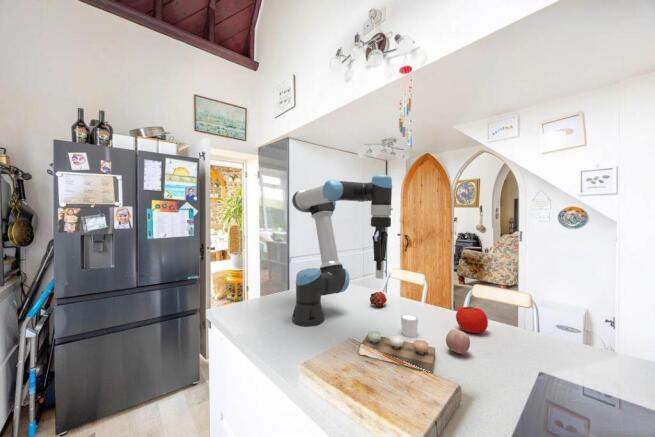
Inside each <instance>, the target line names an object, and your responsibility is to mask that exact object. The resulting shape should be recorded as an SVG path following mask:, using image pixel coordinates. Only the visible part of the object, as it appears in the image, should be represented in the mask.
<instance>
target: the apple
mask: <svg viewBox="0 0 655 437" xmlns="http://www.w3.org/2000/svg"><path fill="white" fill-rule="evenodd" d="M445 344H446V346H447V348H448V349H449V350H450V351H453V352H454V353H456V354H460V355H464V354H466V353H467V352H468V351H469V348H470V347H471V340H470V337H469V335H468V334H467V333H466V332H464V331H462V330H460V329H451V330H449V331H448V333H447V334H446V338H445Z"/></svg>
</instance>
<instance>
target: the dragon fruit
mask: <svg viewBox="0 0 655 437" xmlns="http://www.w3.org/2000/svg"><path fill="white" fill-rule="evenodd" d="M369 302H370V304H371V305H373V306H374V307H376V308H378V307H380V308H381V307H382V308H384V305H385V304H386V303H387V302H388V300H387V296H386V294H385V293H383V292H382V291H376V292H373V293H371V294H370V297H369Z"/></svg>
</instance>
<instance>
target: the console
mask: <svg viewBox="0 0 655 437" xmlns="http://www.w3.org/2000/svg"><path fill="white" fill-rule="evenodd" d="M361 343H362V344H364V345H366V346H369V347H371V348H373V349H376V350H378V351H380V352H382V353H385V354H387V355H389V356H392V357H395V358H398V359H400V360H402V361H405V362H407V363H410V364H412V365H415V366H417V367H419V368H422V369H425V370H427V371H430V372H432V373H433V370H434V367H435V366H434V365H435V359H436V347H433V346H429V345H428V351H427V352H424V355H422V354H418V351H416V350H415V349H414V342H410V341H405V340H404V345H403V346H401V347H400V349H395V348H394V346H393V345H391V344H390V337H384V336H381V340H380V341H378V342H377V344H373V343H372V341H370V340H369V339H368V334H367V335H366V336H365V338H364V339H363V340H362V342H361Z"/></svg>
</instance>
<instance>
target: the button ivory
mask: <svg viewBox="0 0 655 437" xmlns="http://www.w3.org/2000/svg"><path fill="white" fill-rule="evenodd" d="M389 338H390V344H391V345H393V346H394V348H395V349H400V347H401V346H403V345H404V341H405V339H404V337H403V336H401V335H396V334H395V335H390V337H389Z"/></svg>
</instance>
